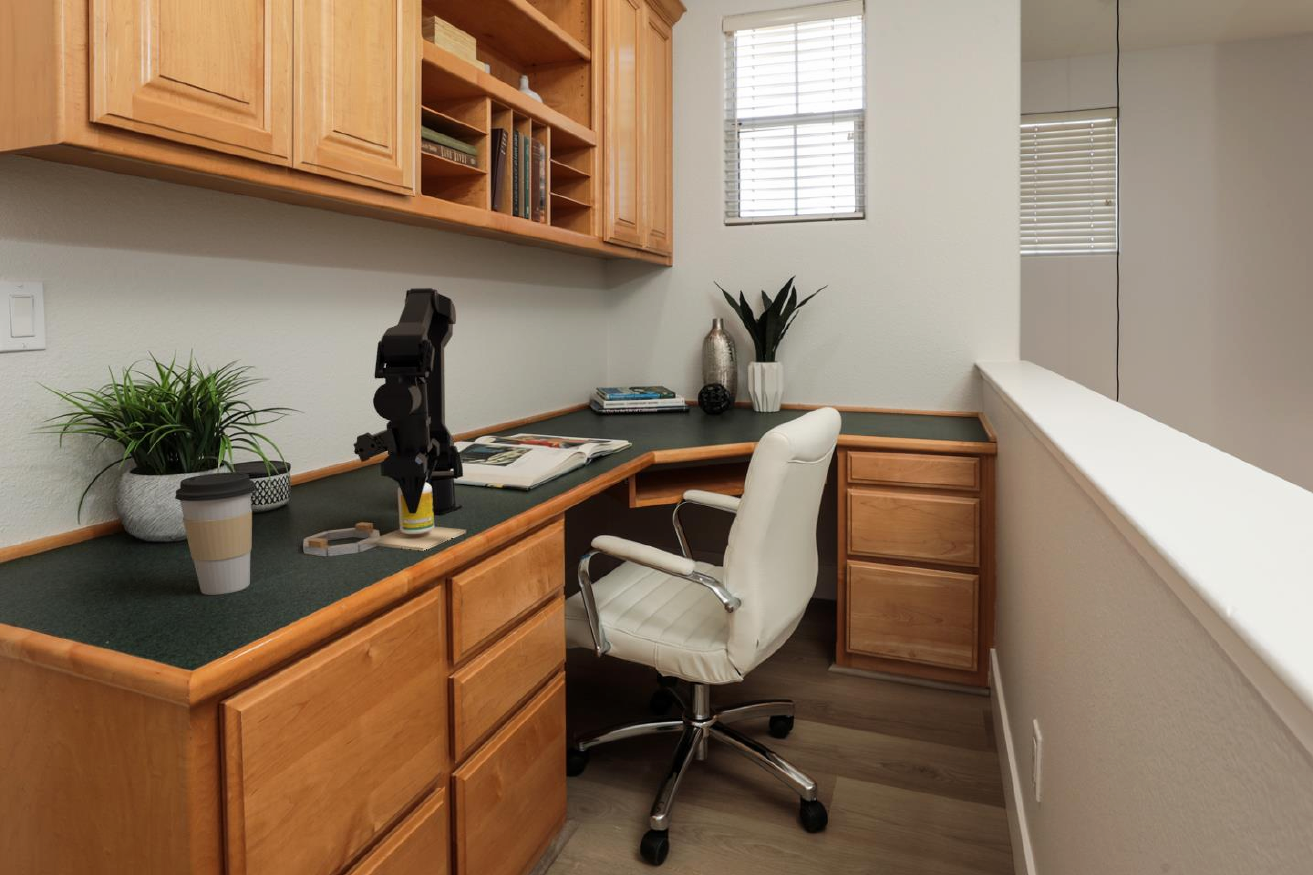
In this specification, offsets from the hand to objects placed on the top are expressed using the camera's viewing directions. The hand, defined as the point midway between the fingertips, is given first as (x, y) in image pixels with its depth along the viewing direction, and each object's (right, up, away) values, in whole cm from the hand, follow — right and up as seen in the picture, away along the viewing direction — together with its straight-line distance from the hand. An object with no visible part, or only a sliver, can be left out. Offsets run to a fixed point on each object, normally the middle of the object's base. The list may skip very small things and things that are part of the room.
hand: (415, 508), depth 128 cm
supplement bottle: (0, -4, +1) cm, 4 cm away
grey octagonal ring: (-11, -6, -2) cm, 12 cm away
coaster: (0, -5, +1) cm, 5 cm away
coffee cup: (-19, -9, -22) cm, 30 cm away
